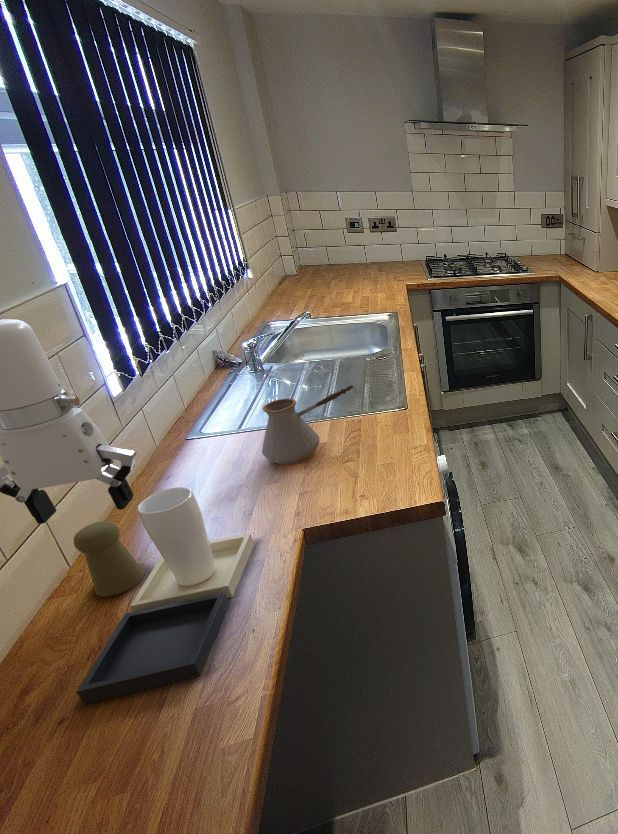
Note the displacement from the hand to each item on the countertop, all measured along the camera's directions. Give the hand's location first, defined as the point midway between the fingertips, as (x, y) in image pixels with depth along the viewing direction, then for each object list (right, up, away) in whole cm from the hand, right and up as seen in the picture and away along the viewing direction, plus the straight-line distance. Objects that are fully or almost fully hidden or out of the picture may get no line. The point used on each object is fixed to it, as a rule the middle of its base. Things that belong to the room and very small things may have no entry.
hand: (87, 510), depth 79 cm
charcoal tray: (+16, -18, -6) cm, 25 cm away
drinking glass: (+12, -12, +6) cm, 18 cm away
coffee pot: (+12, +4, +42) cm, 44 cm away
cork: (0, -13, +6) cm, 14 cm away
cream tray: (+12, -12, +6) cm, 18 cm away
